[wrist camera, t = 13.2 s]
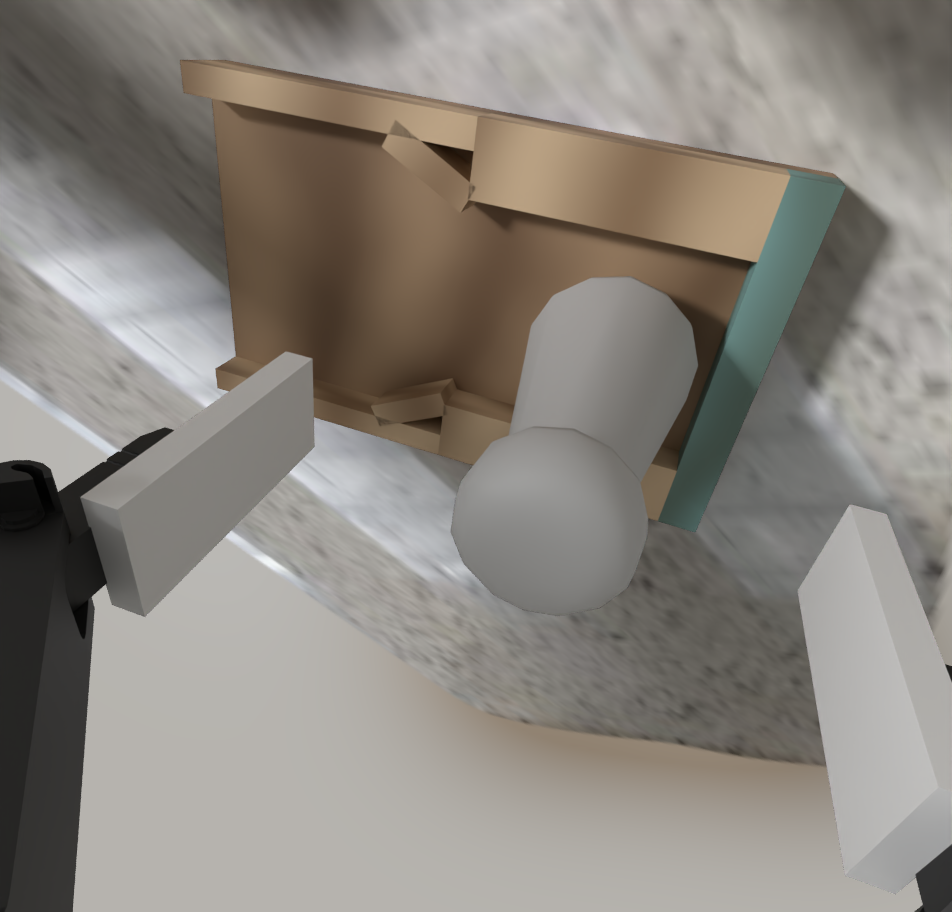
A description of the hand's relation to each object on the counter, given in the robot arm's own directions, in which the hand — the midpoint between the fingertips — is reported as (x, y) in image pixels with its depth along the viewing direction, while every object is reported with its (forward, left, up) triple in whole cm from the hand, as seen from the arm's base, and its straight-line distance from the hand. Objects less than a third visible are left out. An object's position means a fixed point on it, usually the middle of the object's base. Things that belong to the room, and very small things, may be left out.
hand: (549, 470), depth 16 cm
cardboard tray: (-6, 0, -11) cm, 12 cm away
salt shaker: (0, 0, -10) cm, 10 cm away
